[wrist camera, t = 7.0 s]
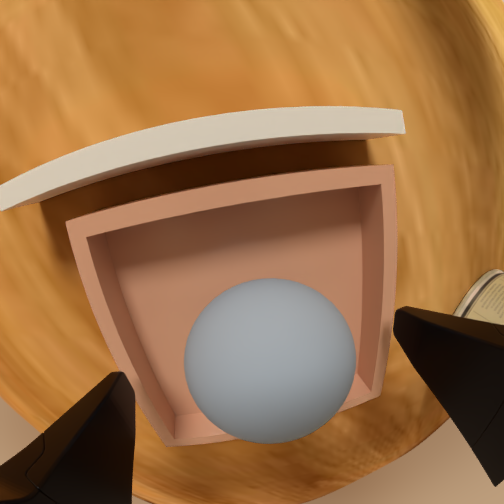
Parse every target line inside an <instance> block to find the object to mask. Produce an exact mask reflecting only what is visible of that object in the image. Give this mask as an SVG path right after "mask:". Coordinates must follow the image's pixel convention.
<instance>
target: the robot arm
mask: <svg viewBox="0 0 504 504" xmlns="http://www.w3.org/2000/svg"><path fill="white" fill-rule="evenodd" d="M393 333H394V336H395V338H396V339H397V341H398V342H399V344H400V346H401V347H402V349H403V350H404V352H405V354H406V355H407V357H408V359H409V360H410V362H411V364H412V365H413V367H414V368H415V369H416V371H417V372H418V374H419V375H420V376H421V377H422V379H423V380H424V381H425V383H426V384H427V386H428V387H429V388H430V390H431V391H432V392H433V394H434V395H435V396H436V398H437V399H438V401H439V402H440V403H441V405H442V406H443V408H444V409H445V410H446V412H447V413H448V415H449V416H450V418H451V419H452V420H453V422H454V423H455V425H456V426H457V428H458V429H459V431H460V432H461V433H462V435H463V437H464V438H465V440H466V441H467V443H468V444H469V446H470V447H471V448H472V451H473V452H474V454H475V455H476V457H477V458H478V460H479V462H480V463H481V465H482V467H483V468H484V470H485V472H486V473H487V475H488V477H489V478H490V480H491V482H492V483H493V485H494V486H495V487H496V486H497V485H498V484H500V483H501V482H502V481H503V480H504V325H501V324H496V323H490V322H485V321H479V320H474V319H469V318H464V317H459V316H453V315H448V314H443V313H438V312H433V311H428V310H423V309H419V308H414V307H409V306H404V307H402V308H399V309H397V310H396V312H395V318H394V326H393ZM134 447H135V392H134V389H133V387H132V385H131V384H130V382H129V380H128V378H127V376H126V374H125V373H124V372H122V371H118V372H111V373H110V374H109V375H108V376H106V377H105V378H104V379H103V380H102V381H101V382H100V383H99V384H97V385H96V386H95V387H94V388H93V389H92V390H91V391H89V392H88V393H87V394H86V395H85V396H84V397H83V398H81V399H80V400H79V401H78V402H77V403H76V404H75V405H74V406H72V407H71V408H70V409H69V410H68V411H67V412H66V413H64V414H63V415H62V416H61V417H60V418H59V419H58V420H57V421H55V422H54V423H53V424H52V425H51V426H50V427H49V428H47V429H46V430H45V431H44V433H42V434H41V435H40V436H38V437H37V438H36V439H35V440H34V441H33V442H31V443H30V444H29V445H28V446H27V447H26V448H24V449H23V450H21V451H20V452H19V453H17V454H16V455H15V456H13V457H12V458H11V459H9V460H8V461H6V462H5V463H4V464H2V465H1V466H0V504H132V476H133V460H134Z"/></svg>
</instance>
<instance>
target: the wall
mask: <svg viewBox="0 0 504 504" xmlns="http://www.w3.org/2000/svg"><path fill="white" fill-rule="evenodd" d="M401 134H406V132H405V125H404V120H403V114H402V110H395V109H384V108H370V107H347V106H309V107H286V108H271V109H260V110H250V111H241V112H233V113H226V114H219V115H212V116H206V117H200V118H195V119H189V120H184V121H179V122H174V123H170V124H165V125H161V126H157V127H153V128H149V129H145V130H141V131H137V132H133V133H130V134H126V135H123V136H119V137H116V138H113V139H110V140H106V141H103V142H100V143H97V144H94V145H91V146H88V147H86V148H83V149H80V150H77V151H75V152H72V153H69V154H67V155H64V156H62V157H59V158H57V159H55V160H52V161H50V162H47V163H45V164H43V165H41V166H38V167H36V168H34V169H32V170H30V171H28V172H26V173H23V174H21V175H19V176H17V177H15V178H13V179H11V180H10V181H8V182H6V183H4V184H2V185H0V210H1V211H5V210H8V209H12V208H16V207H20V206H24V205H29V204H33V203H37V202H41V201H43V200H46V199H48V198H51V197H54V196H56V195H59V194H62V193H65V192H68V191H71V190H74V189H77V188H80V187H83V186H86V185H89V184H92V183H95V182H98V181H102V180H105V179H108V178H112V177H115V176H119V175H123V174H126V173H130V172H134V171H138V170H142V169H146V168H150V167H154V166H158V165H162V164H167V163H171V162H176V161H181V160H186V159H191V158H196V157H201V156H206V155H212V154H218V153H224V152H230V151H237V150H244V149H251V148H259V147H267V146H275V145H285V144H295V143H307V142H322V141H341V140H368V139H374V138H380V137H387V136H394V135H401Z"/></svg>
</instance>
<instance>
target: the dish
mask: <svg viewBox="0 0 504 504" xmlns="http://www.w3.org/2000/svg"><path fill="white" fill-rule="evenodd" d="M66 227H67V231H68V235H69V239H70V243H71V246H72V250H73V254H74V257H75V261H76V264H77V267H78V270H79V274H80V277H81V280H82V283H83V286H84V288H85V291H86V294H87V297H88V300H89V302H90V305H91V308H92V310H93V313H94V315H95V318H96V320H97V323H98V325H99V327H100V330H101V332H102V334H103V337H104V339H105V341H106V343H107V346H108V348H109V350H110V352H111V354H112V356H113V358H114V360H115V362H116V364H117V366H118V368H119V370H120V371H122V372H124V373H125V374H126V376H127V378H128V380H129V382H130V384H131V385H132V387H133V389H134V392H135V399H136V401H137V403H138V404H139V406H140V408H141V409H142V411H143V413H144V414H145V416H146V417H147V419H148V421H149V422H150V424H151V425H152V427H153V428H154V430H155V431H156V433H157V434H158V436H159V437H160V438H161V440H162V441H163V443H164V444H165V446H166V447H173V446H187V445H198V444H207V443H215V442H222V441H228V440H235V439H239V438H236V437H234V436H232V435H230V434H228V433H226V432H224V431H223V430H221V429H219V428H218V427H217V426H215V425H214V424H213V423H212V422H211V421H210V420H208V419H207V418H206V416H205V415H204V414H203V413H202V412H201V410H200V409H199V408H198V407H197V405H196V403H195V401H194V399H193V397H192V396H191V394H190V391H189V388H188V385H187V381H186V378H185V371H184V353H185V347H186V343H187V338H188V336H189V333H190V331H191V328H192V326H193V324H194V322H195V321H196V319H197V317H198V316H199V314H200V313H201V312H202V311H203V310H204V308H205V307H206V306H207V305H208V304H209V303H210V302H211V301H212V300H213V299H214V298H216V297H217V296H218V295H220V294H221V293H223V292H224V291H226V290H228V289H230V288H231V287H233V286H236V285H238V284H241V283H244V282H247V281H251V280H257V279H264V278H276V279H286V280H291V281H295V282H298V283H301V284H304V285H306V286H308V287H311V288H312V289H314V290H316V291H318V292H319V293H321V294H322V295H323V296H324V297H326V298H327V299H328V300H329V301H331V302H332V303H333V304H334V305H335V307H336V308H337V309H338V310H339V311H340V313H341V314H342V315H343V317H344V319H345V320H346V322H347V324H348V326H349V328H350V331H351V333H352V336H353V340H354V344H355V350H356V369H355V375H354V380H353V383H352V386H351V389H350V391H349V394H348V396H347V398H346V400H345V401H344V403H343V405H342V406H341V407H340V409H339V410H338V411H337V413H338V412H341V411H344V410H346V409H349V408H352V407H354V406H357V405H359V404H362V403H364V402H366V401H369V400H371V399H374V398H376V397H378V396H380V394H381V390H382V385H383V380H384V375H385V370H386V364H387V359H388V353H389V346H390V339H391V332H392V323H393V314H394V304H395V291H396V274H397V206H396V189H395V176H394V166H393V165H354V166H341V167H330V168H320V169H311V170H302V171H294V172H286V173H278V174H271V175H264V176H257V177H250V178H244V179H238V180H232V181H226V182H220V183H215V184H209V185H204V186H199V187H194V188H189V189H184V190H179V191H174V192H170V193H165V194H161V195H156V196H152V197H148V198H143V199H139V200H135V201H131V202H127V203H123V204H119V205H115V206H112V207H108V208H104V209H101V210H97V211H94V212H90V213H88V214H85V215H82V216H79V217H77V218H74V219H71V220H68V221H66Z"/></svg>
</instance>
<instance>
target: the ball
mask: <svg viewBox="0 0 504 504" xmlns="http://www.w3.org/2000/svg"><path fill="white" fill-rule="evenodd" d="M355 369H356V350H355V344H354V340H353V336H352V333H351V331H350V328H349V326H348V324H347V322H346V320H345V319H344V317H343V315H342V314H341V313H340V311H339V310H338V309H337V308H336V307H335V305H334V304H333V303H332V302H331V301H329V300H328V299H327V298H326V297H324V296H323V295H322V294H321V293H319V292H318V291H316V290H314V289H312V288H311V287H308V286H306V285H304V284H301V283H298V282H295V281H291V280H286V279H276V278H264V279H257V280H251V281H247V282H244V283H241V284H238V285H236V286H233V287H231V288H230V289H228V290H226V291H224V292H223V293H221V294H220V295H218V296H217V297H216V298H214V299H213V300H212V301H211V302H210V303H209V304H208V305H207V306H206V307H205V308H204V310H203V311H202V312H201V313H200V314H199V316H198V317H197V319H196V321H195V322H194V324H193V326H192V328H191V331H190V333H189V336H188V338H187V343H186V347H185V353H184V371H185V378H186V381H187V385H188V388H189V391H190V394H191V396H192V397H193V399H194V401H195V403H196V405H197V407H198V408H199V409H200V410H201V412H202V413H203V414H204V415H205V416H206V418H207V419H208V420H210V421H211V422H212V423H213V424H214V425H215V426H217V427H218V428H219V429H221V430H223V431H224V432H226V433H228V434H230V435H232V436H234V437H236V438H239V439H242V440H245V441H250V442H255V443H263V444H273V443H283V442H289V441H293V440H296V439H299V438H302V437H304V436H306V435H308V434H310V433H312V432H314V431H316V430H317V429H319V428H320V427H321V426H323V425H324V424H325V423H327V422H328V421H329V420H330V419H331V418H332V417H333V416H334V415H335V414H336V413H337V411H338V410H339V409H340V407H341V406H342V405H343V403H344V401H345V400H346V398H347V396H348V394H349V391H350V389H351V386H352V383H353V380H354V375H355Z"/></svg>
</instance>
